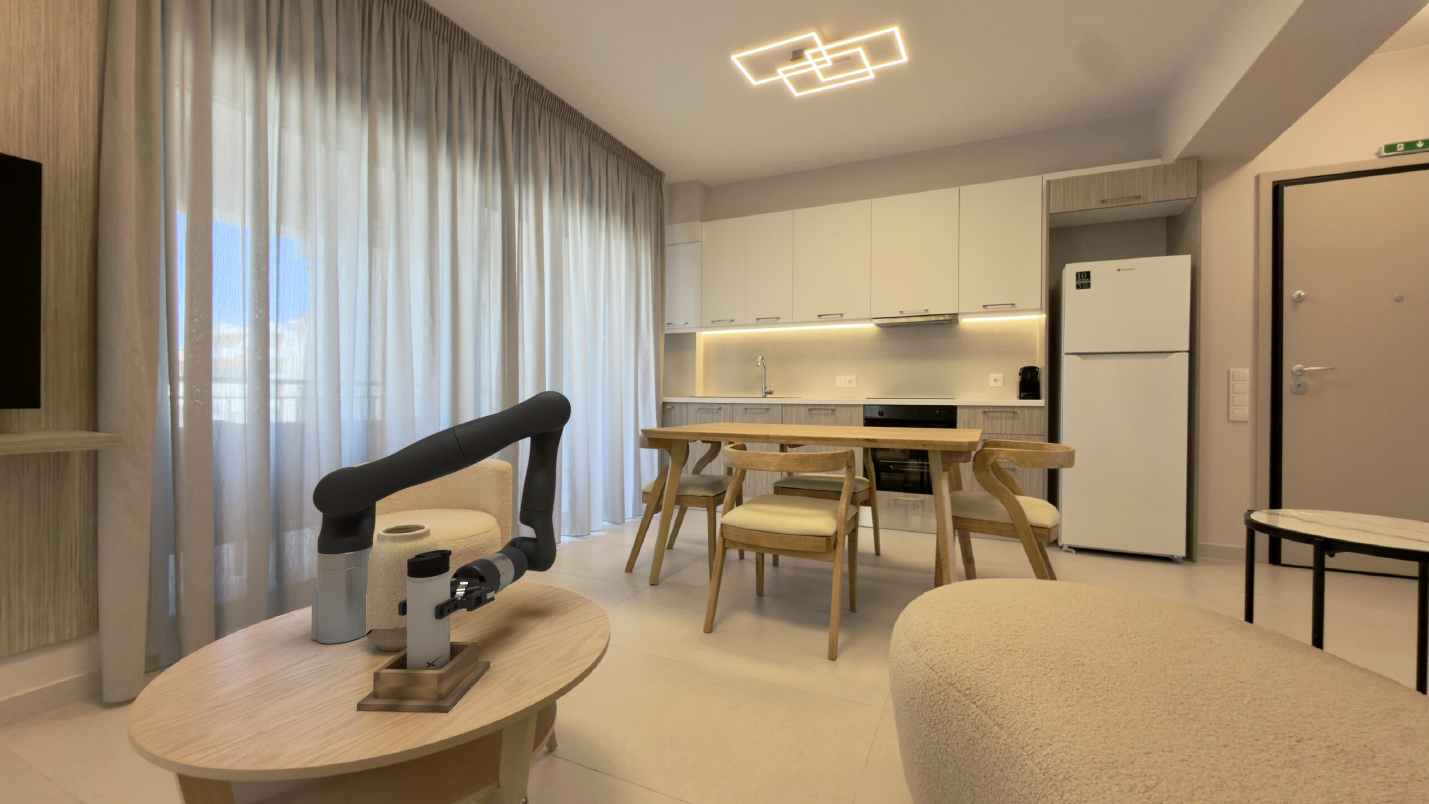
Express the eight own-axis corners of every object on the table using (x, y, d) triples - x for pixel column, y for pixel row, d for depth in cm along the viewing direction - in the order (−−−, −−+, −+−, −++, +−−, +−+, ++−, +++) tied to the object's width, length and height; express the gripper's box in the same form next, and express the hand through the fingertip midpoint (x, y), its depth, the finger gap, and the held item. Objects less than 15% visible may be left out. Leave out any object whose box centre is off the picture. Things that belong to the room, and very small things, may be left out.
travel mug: (439, 684, 85) (439, 557, 84) (398, 683, 85) (398, 557, 85) (459, 664, 91) (459, 546, 91) (420, 663, 91) (420, 546, 91)
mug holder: (356, 710, 81) (357, 676, 81) (412, 665, 95) (412, 637, 95) (448, 712, 80) (448, 678, 81) (490, 667, 94) (490, 638, 95)
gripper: (451, 555, 103) (379, 584, 87) (518, 560, 100) (458, 591, 84) (450, 594, 103) (379, 631, 87) (518, 600, 100) (458, 639, 84)
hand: (418, 611), depth 86 cm, fingers closed on travel mug, 6 cm apart
